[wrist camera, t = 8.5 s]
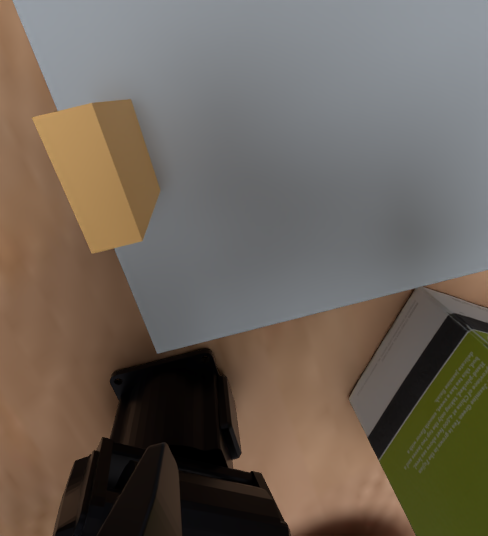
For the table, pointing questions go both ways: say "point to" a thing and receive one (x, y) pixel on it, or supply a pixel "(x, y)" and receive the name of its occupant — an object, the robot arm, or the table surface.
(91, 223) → the lid
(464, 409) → the tea box
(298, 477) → the table surface
